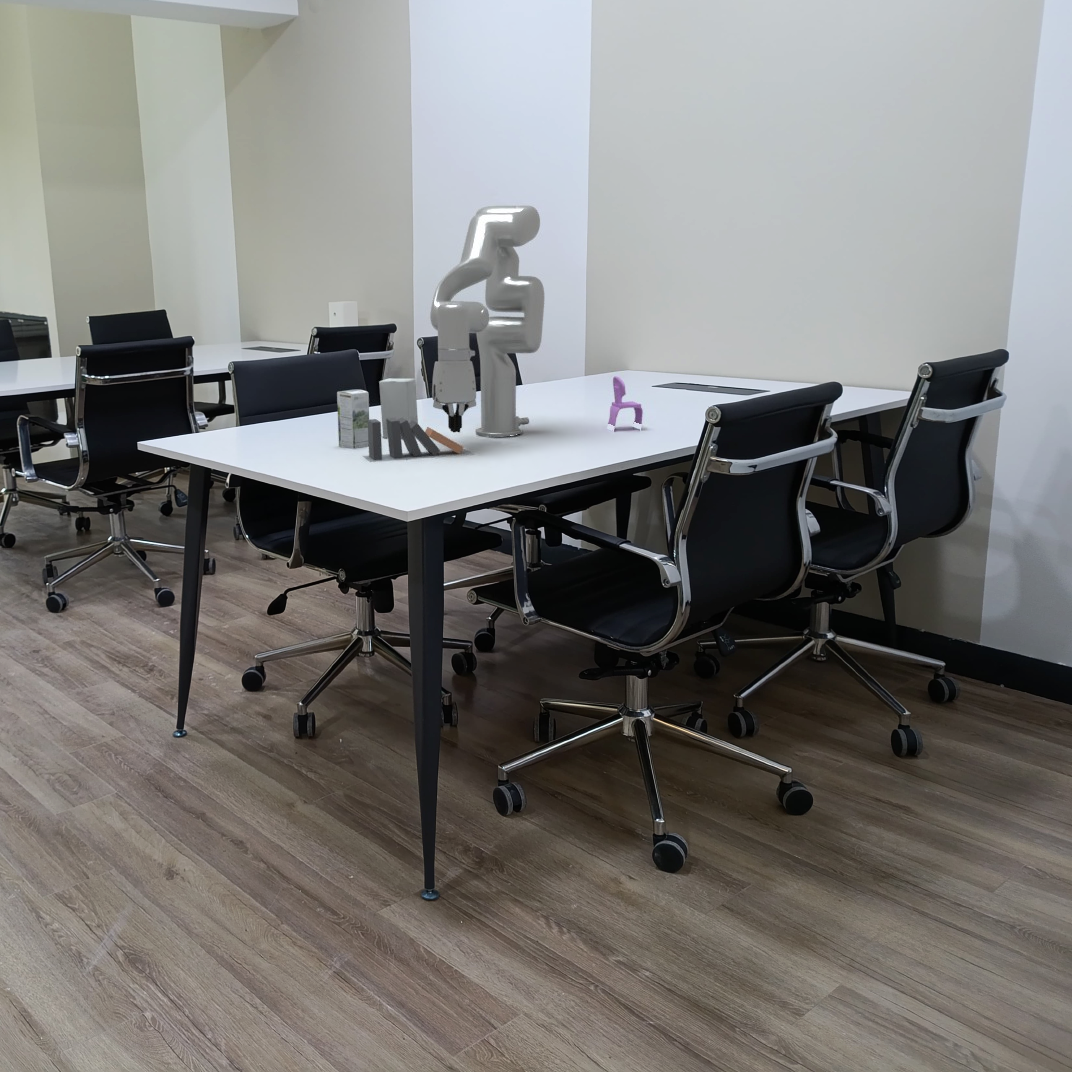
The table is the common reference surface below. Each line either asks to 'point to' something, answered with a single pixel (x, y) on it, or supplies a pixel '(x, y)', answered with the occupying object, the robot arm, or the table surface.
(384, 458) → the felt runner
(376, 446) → the domino
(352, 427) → the syrup box
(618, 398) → the toy chair
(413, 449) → the domino
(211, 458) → the table surface
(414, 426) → the domino
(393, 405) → the skincare box
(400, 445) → the domino
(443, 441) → the domino
